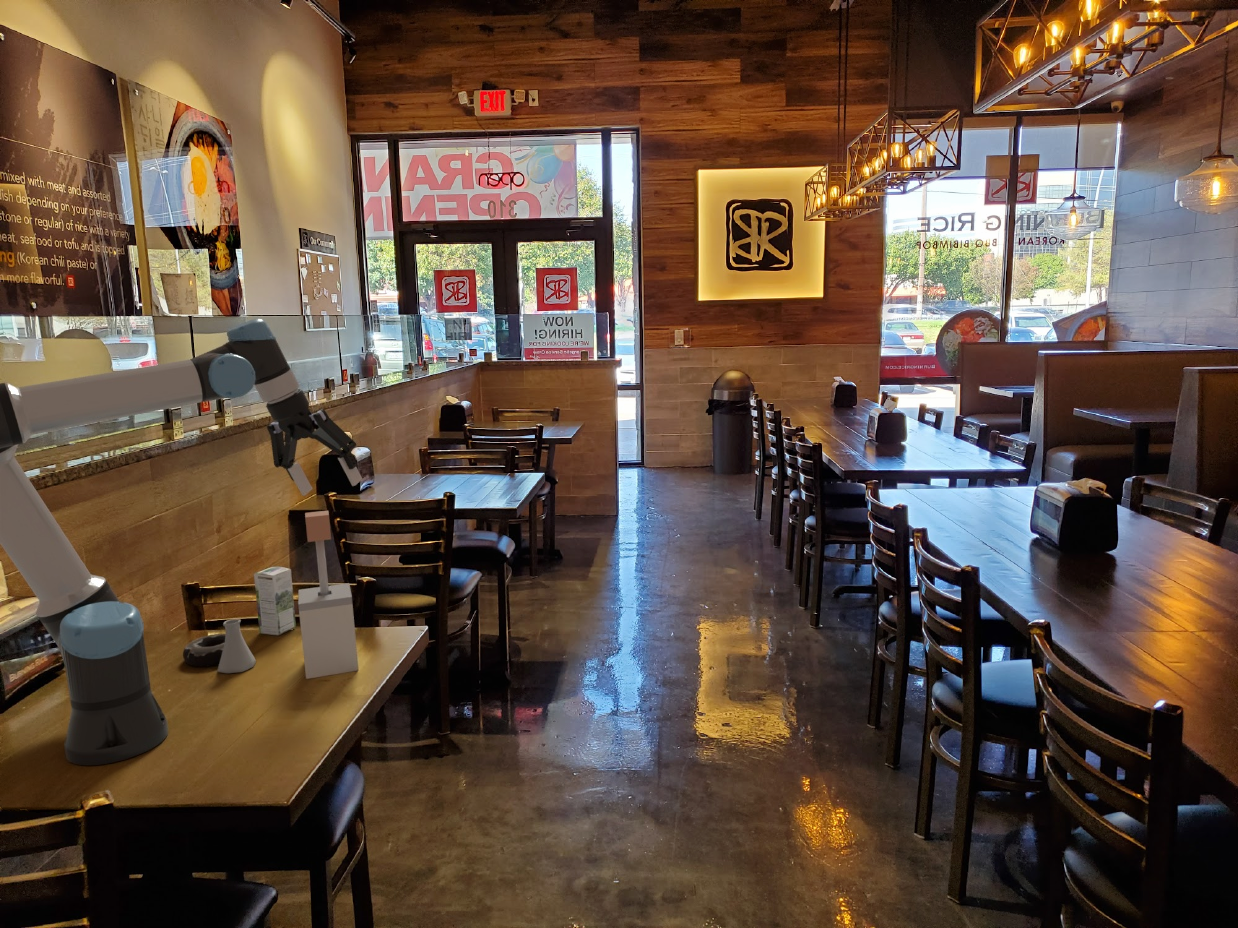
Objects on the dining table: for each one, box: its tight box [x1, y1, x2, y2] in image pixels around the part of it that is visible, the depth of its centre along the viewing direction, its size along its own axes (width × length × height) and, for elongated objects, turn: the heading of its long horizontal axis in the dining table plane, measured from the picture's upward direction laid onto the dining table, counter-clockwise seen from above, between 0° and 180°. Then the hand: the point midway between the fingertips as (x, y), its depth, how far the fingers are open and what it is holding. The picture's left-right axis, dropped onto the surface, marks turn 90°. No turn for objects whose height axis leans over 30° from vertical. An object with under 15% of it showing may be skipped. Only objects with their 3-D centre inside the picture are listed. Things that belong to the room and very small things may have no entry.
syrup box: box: [253, 566, 297, 636], centre depth 196 cm, size 6×6×14 cm
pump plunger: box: [304, 510, 332, 596], centre depth 172 cm, size 4×4×20 cm
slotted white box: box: [297, 582, 359, 680], centre depth 174 cm, size 10×10×16 cm
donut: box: [182, 633, 226, 668], centre depth 182 cm, size 12×12×4 cm
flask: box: [217, 618, 257, 674], centre depth 176 cm, size 7×7×10 cm
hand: (332, 487), depth 177 cm, fingers open, 13 cm apart
